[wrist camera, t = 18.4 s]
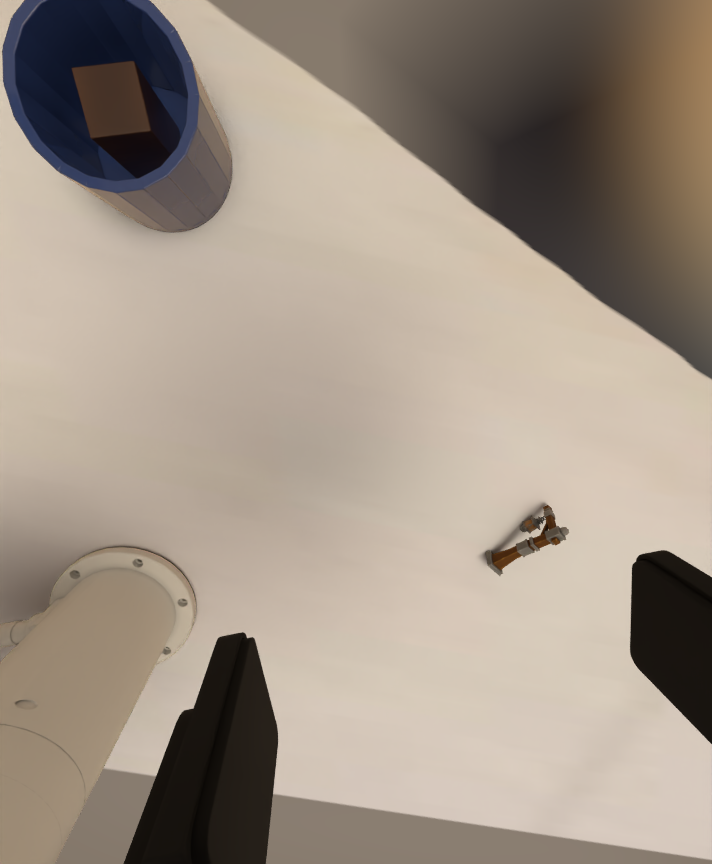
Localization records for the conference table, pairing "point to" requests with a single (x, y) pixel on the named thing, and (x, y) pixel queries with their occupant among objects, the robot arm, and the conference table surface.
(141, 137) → the walnut peg
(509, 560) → the wooden post with brackets
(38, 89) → the mug
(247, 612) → the conference table surface
